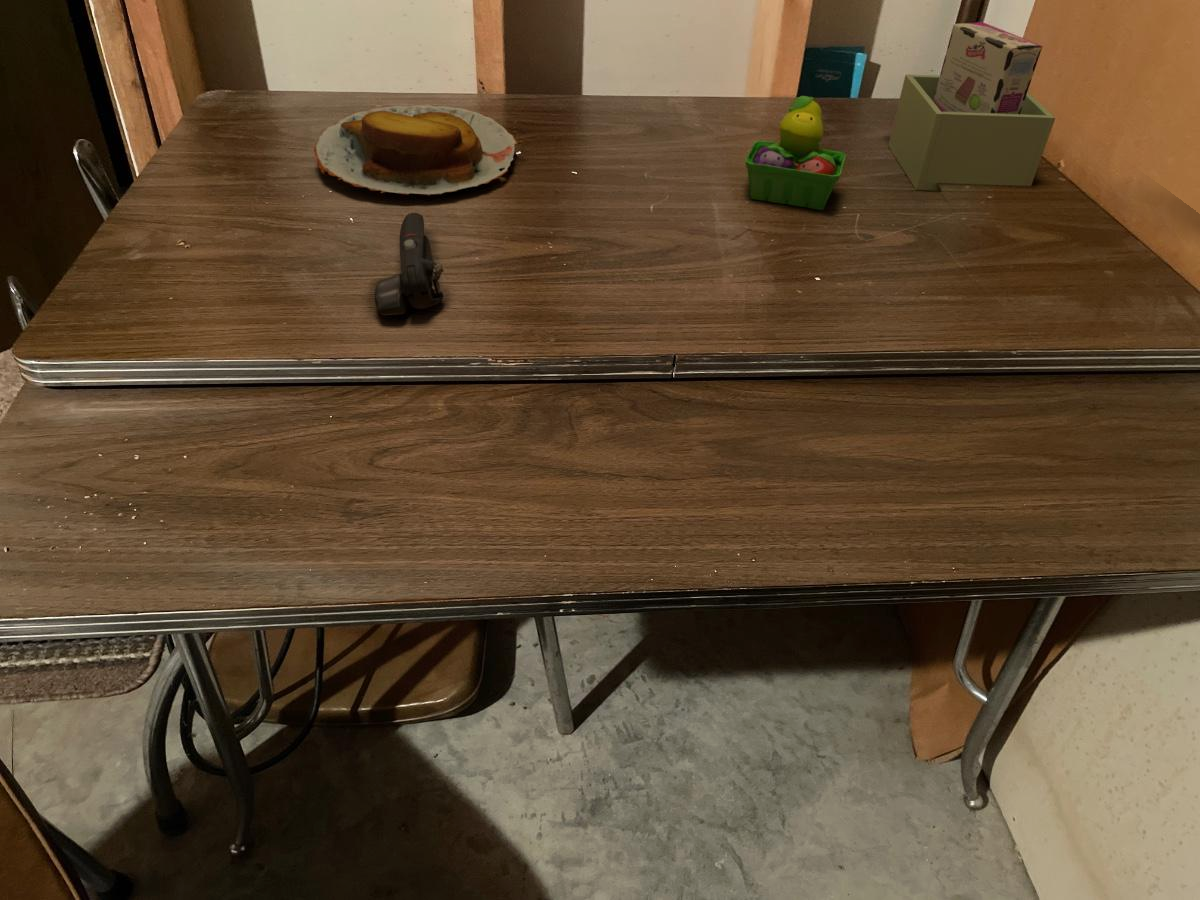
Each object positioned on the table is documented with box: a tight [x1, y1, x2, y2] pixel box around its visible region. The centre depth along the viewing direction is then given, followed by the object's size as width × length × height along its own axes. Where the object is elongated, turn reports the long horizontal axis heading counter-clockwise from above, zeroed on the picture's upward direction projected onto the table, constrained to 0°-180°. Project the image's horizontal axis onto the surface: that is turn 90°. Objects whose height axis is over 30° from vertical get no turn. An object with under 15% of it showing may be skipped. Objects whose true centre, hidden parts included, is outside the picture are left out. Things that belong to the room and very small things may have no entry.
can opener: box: [373, 212, 446, 316], centre depth 93 cm, size 18×7×6 cm, turn 5°
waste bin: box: [887, 73, 1056, 192], centre depth 119 cm, size 15×15×10 cm
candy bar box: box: [933, 21, 1044, 114], centre depth 117 cm, size 11×5×16 cm, turn 21°
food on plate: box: [313, 104, 520, 196], centre depth 115 cm, size 25×25×7 cm
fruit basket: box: [744, 95, 847, 211], centre depth 111 cm, size 11×9×11 cm
